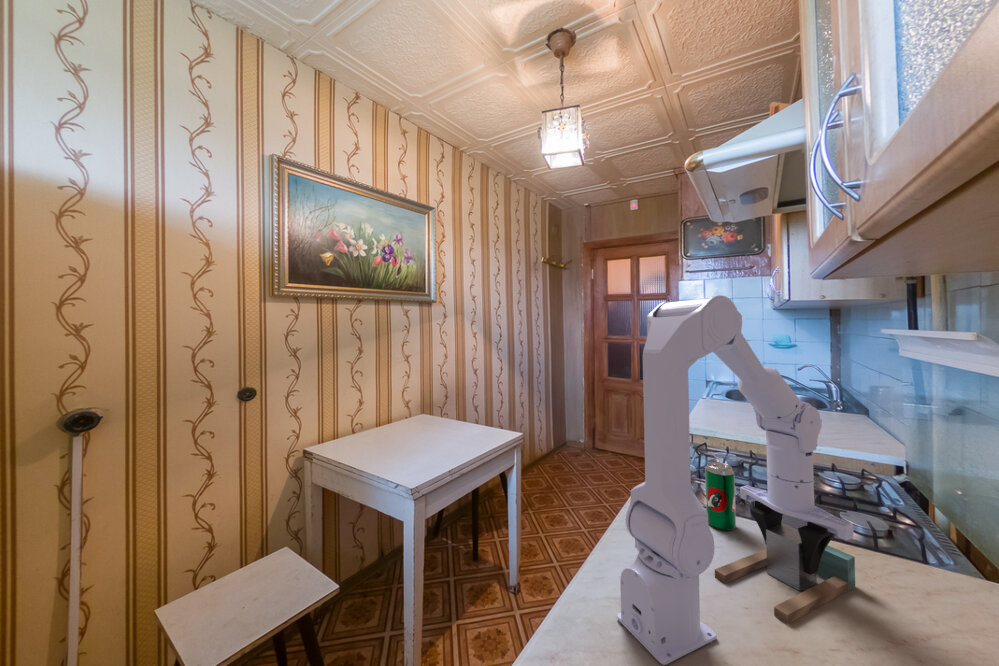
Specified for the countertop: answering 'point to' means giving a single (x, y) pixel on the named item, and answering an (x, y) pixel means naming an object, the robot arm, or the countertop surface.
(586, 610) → the countertop surface
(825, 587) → the guide channel
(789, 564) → the block
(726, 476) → the soda can
